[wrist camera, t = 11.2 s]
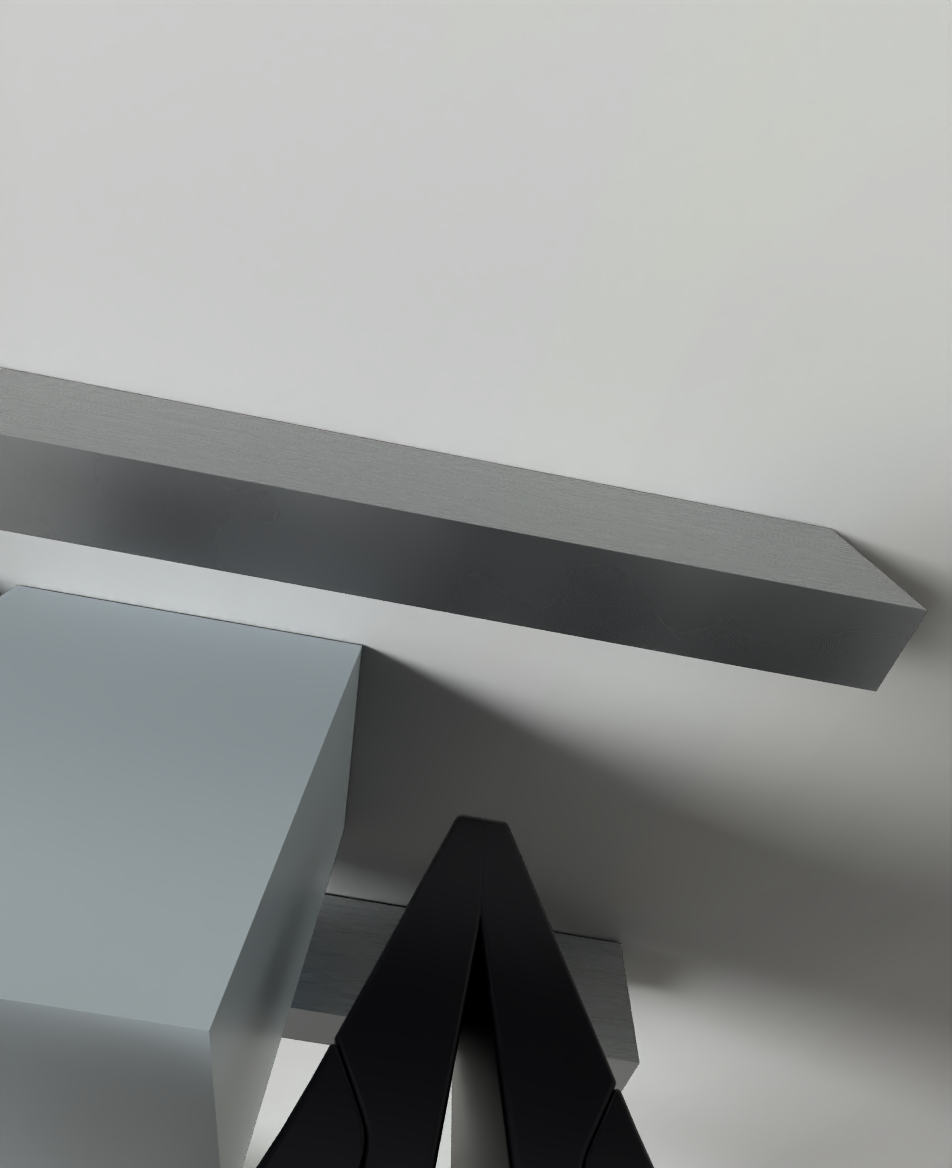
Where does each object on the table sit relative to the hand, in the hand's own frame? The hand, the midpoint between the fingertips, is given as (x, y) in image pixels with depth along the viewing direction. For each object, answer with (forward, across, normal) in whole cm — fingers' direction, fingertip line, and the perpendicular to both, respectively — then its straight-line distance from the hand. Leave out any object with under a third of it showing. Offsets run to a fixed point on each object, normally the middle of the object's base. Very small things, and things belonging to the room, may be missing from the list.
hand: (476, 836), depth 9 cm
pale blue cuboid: (+1, +5, 0) cm, 5 cm away
